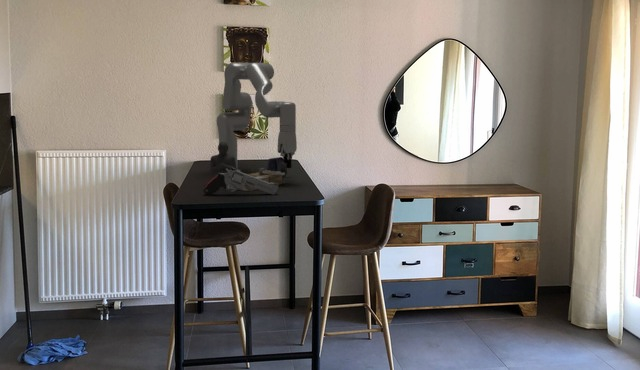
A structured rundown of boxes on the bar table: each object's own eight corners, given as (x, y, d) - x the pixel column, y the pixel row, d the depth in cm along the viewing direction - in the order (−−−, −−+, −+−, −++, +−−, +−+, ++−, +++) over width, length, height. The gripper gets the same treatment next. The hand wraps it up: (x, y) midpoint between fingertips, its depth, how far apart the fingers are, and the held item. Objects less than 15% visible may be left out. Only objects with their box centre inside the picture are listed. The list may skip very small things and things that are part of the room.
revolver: (203, 191, 295) (215, 159, 293) (266, 215, 299) (279, 184, 297) (202, 192, 291) (215, 160, 289) (266, 217, 295) (279, 185, 294)
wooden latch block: (224, 188, 310) (224, 177, 309) (258, 181, 332) (258, 171, 332) (249, 191, 303) (249, 180, 302) (282, 183, 325) (282, 173, 324)
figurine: (209, 185, 318) (208, 142, 315) (211, 183, 325) (210, 141, 322) (235, 185, 318) (235, 142, 315) (237, 183, 326) (236, 141, 323)
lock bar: (257, 173, 324) (257, 161, 323) (261, 172, 326) (261, 160, 326) (284, 176, 316) (284, 163, 315) (287, 175, 319) (287, 162, 318)
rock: (274, 179, 340) (274, 158, 339) (266, 178, 344) (266, 157, 342) (288, 177, 348) (288, 156, 347) (280, 176, 351) (280, 156, 350)
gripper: (289, 127, 328) (289, 165, 331) (271, 129, 315) (272, 169, 318) (302, 128, 324) (302, 166, 327) (285, 130, 312) (285, 170, 314)
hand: (287, 167), depth 323 cm, fingers closed
